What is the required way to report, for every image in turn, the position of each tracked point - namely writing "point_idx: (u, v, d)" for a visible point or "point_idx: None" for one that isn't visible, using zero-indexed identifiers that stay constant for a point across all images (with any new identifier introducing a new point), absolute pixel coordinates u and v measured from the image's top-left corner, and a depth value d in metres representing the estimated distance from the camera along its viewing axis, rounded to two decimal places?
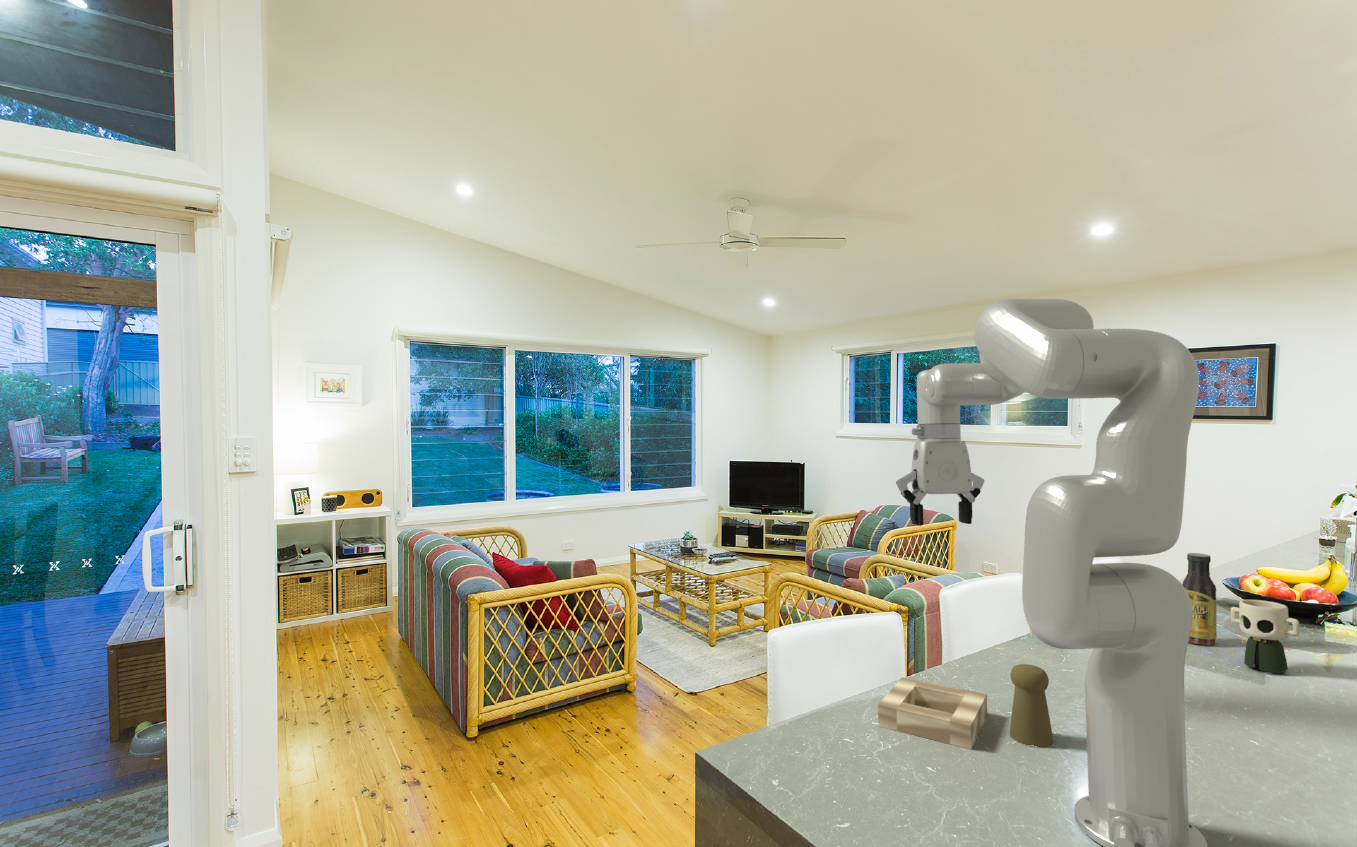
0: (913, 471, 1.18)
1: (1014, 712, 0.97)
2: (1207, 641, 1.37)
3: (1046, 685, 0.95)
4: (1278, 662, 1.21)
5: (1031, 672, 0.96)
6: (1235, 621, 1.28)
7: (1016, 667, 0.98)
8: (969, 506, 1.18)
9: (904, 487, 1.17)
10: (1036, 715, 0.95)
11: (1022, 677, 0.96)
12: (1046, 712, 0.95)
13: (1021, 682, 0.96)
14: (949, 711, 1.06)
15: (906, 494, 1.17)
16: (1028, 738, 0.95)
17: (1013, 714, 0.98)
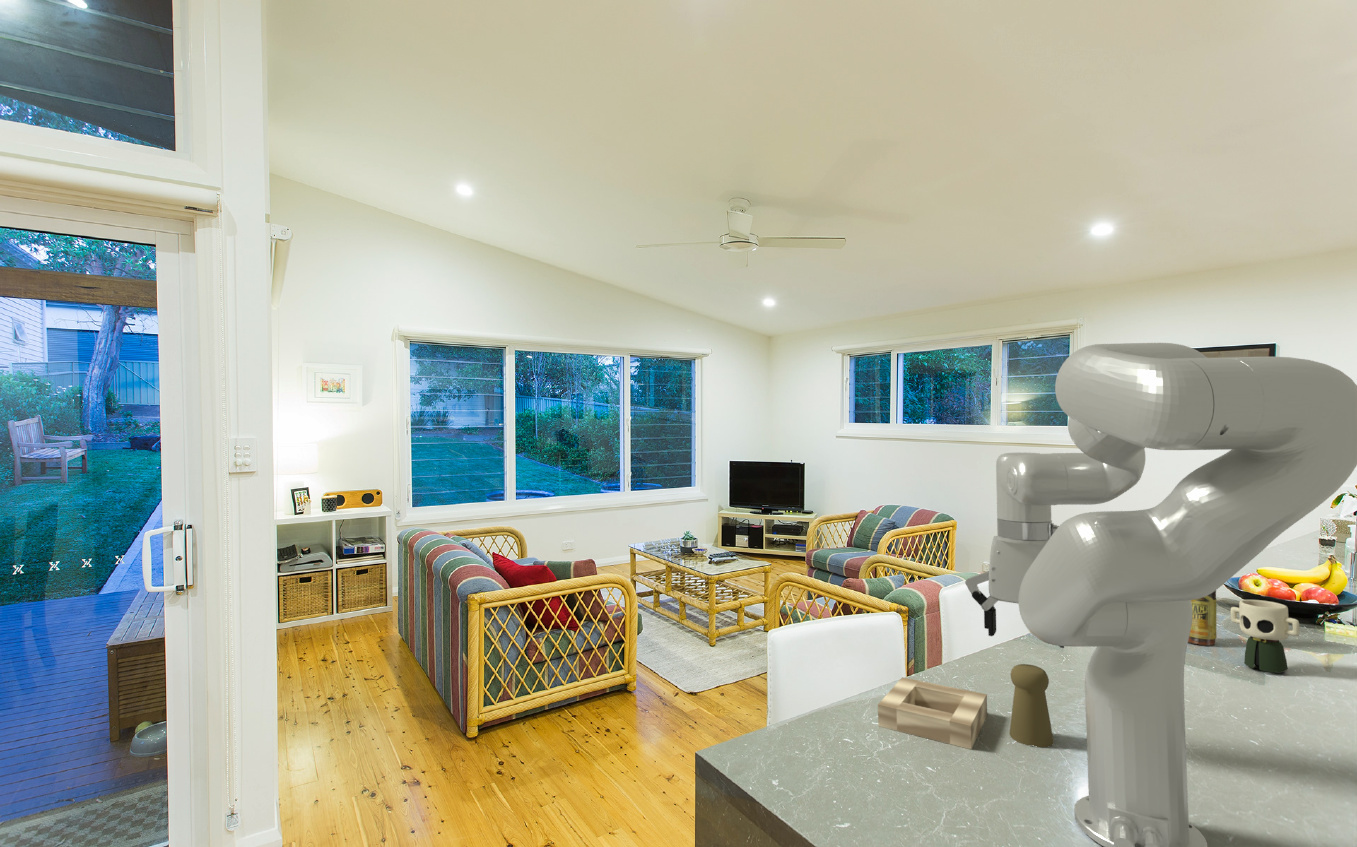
0: None
1: (1014, 712, 0.97)
2: (1207, 641, 1.37)
3: (1046, 685, 0.95)
4: (1278, 662, 1.21)
5: (1032, 672, 0.96)
6: (1235, 621, 1.28)
7: (1016, 667, 0.98)
8: None
9: None
10: (1036, 715, 0.95)
11: (1022, 677, 0.96)
12: (1046, 712, 0.95)
13: (1021, 682, 0.96)
14: (949, 711, 1.06)
15: None
16: (1028, 738, 0.95)
17: (1013, 714, 0.98)
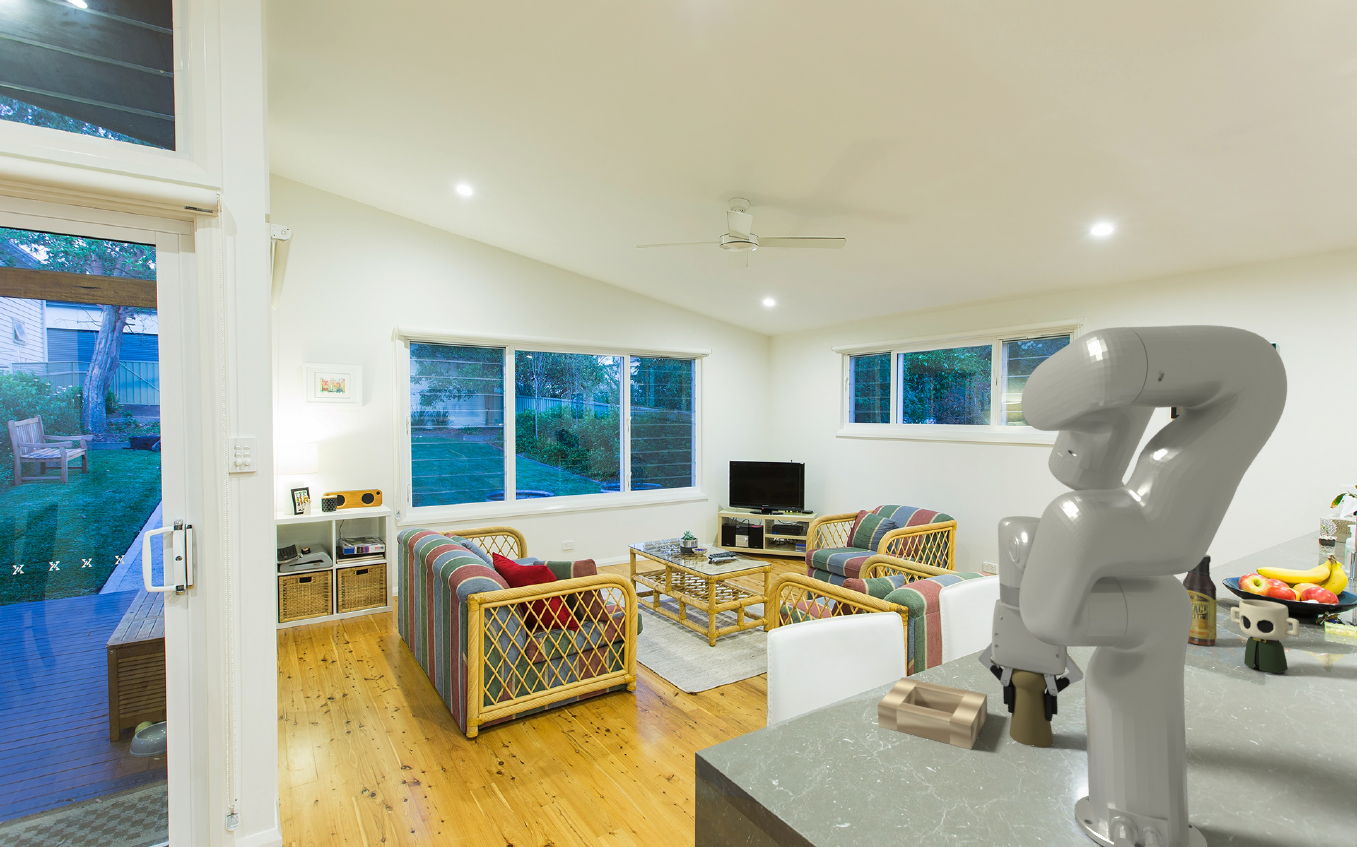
0: None
1: (1014, 711, 0.97)
2: (1207, 641, 1.37)
3: (1046, 685, 0.95)
4: (1278, 662, 1.21)
5: None
6: (1235, 621, 1.28)
7: None
8: None
9: None
10: (1036, 715, 0.95)
11: (1022, 676, 0.96)
12: None
13: (1021, 682, 0.96)
14: (949, 711, 1.06)
15: None
16: (1028, 738, 0.95)
17: (1013, 714, 0.98)
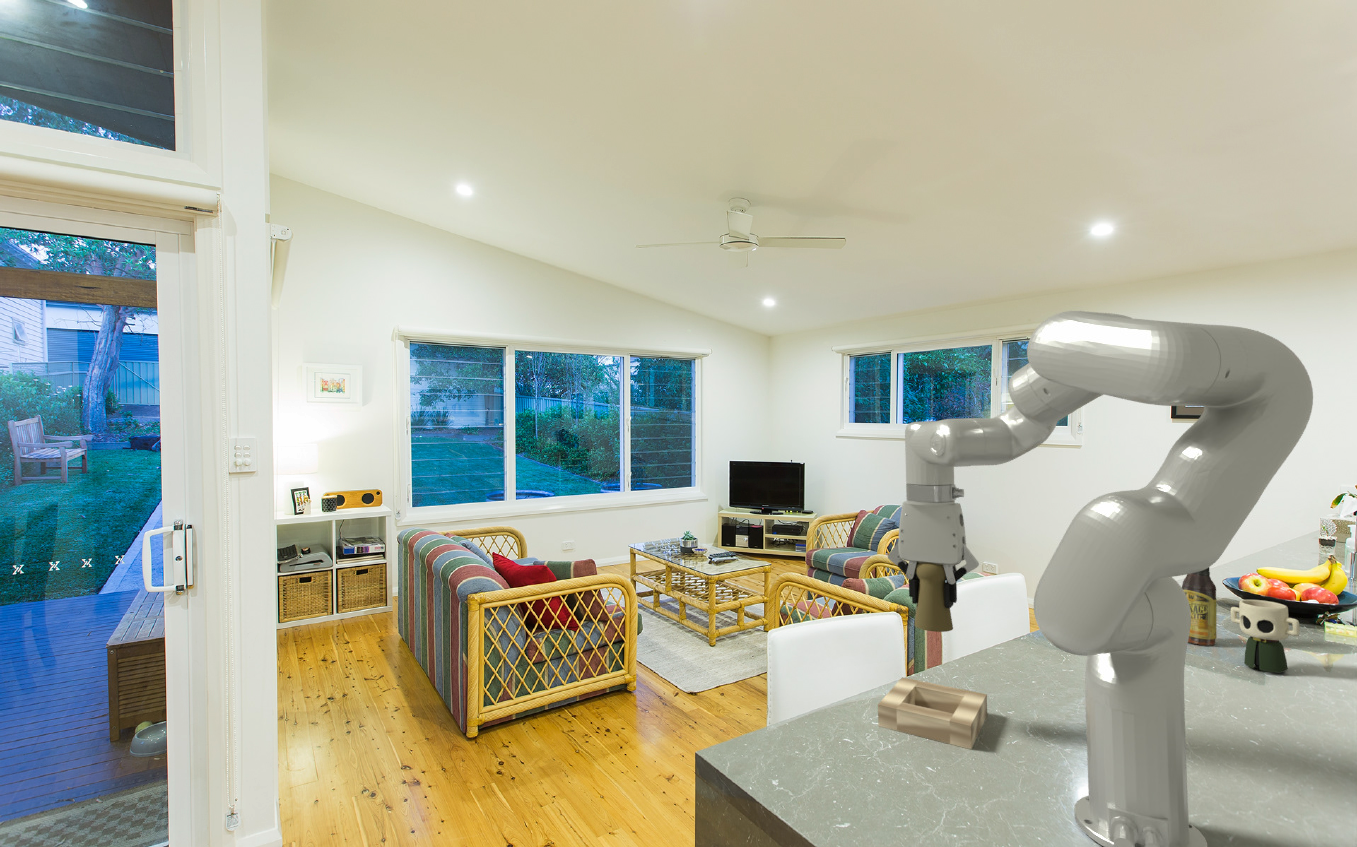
0: (962, 544, 1.01)
1: (917, 602, 1.04)
2: (1207, 641, 1.37)
3: None
4: (1278, 662, 1.21)
5: None
6: (1235, 621, 1.28)
7: None
8: None
9: None
10: (935, 603, 1.02)
11: (924, 568, 1.03)
12: None
13: (923, 573, 1.03)
14: (949, 711, 1.06)
15: None
16: (928, 624, 1.02)
17: (917, 604, 1.04)
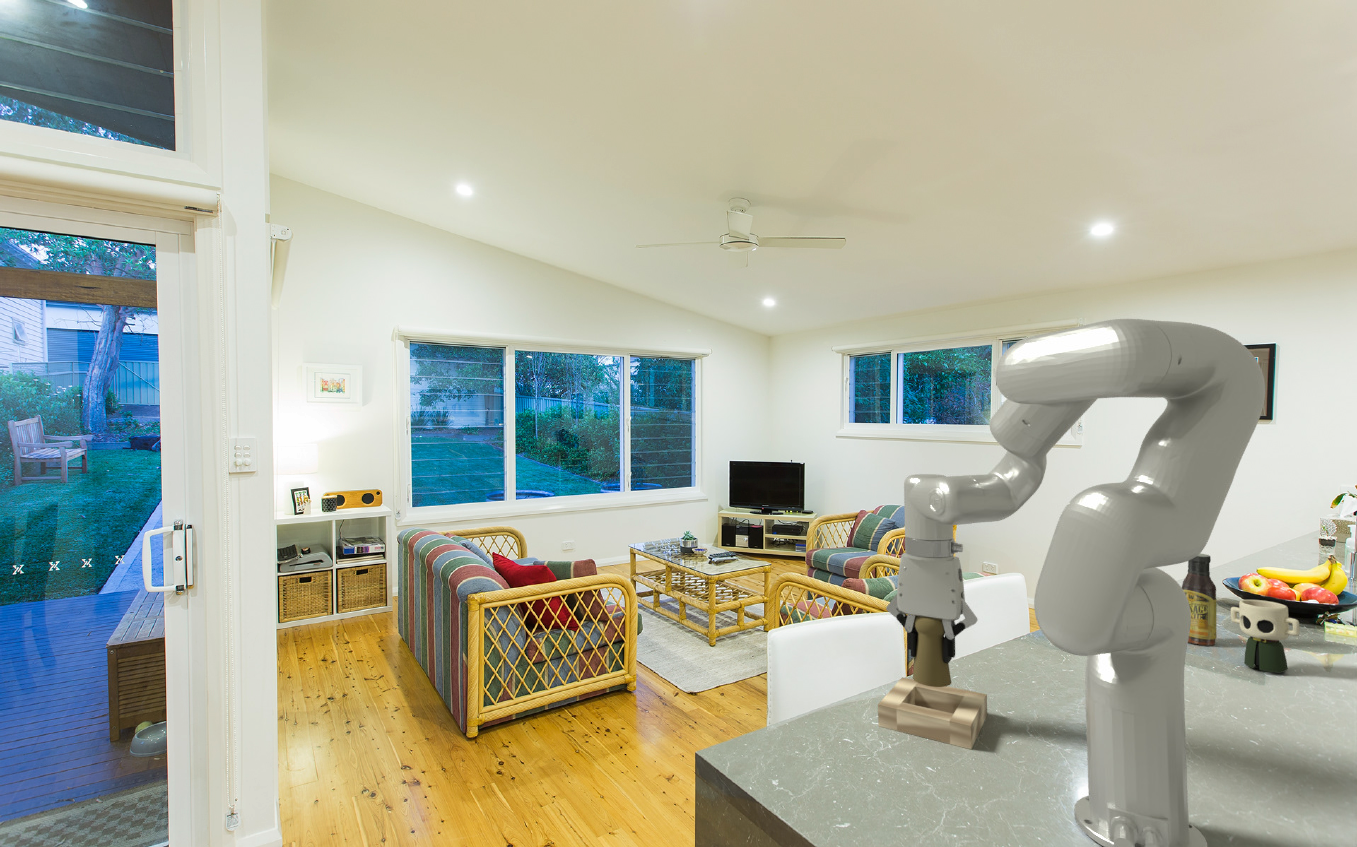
0: (961, 599, 1.01)
1: (916, 655, 1.04)
2: (1207, 641, 1.37)
3: (944, 630, 1.02)
4: (1278, 662, 1.21)
5: None
6: (1235, 621, 1.28)
7: None
8: None
9: None
10: (934, 657, 1.02)
11: (922, 622, 1.03)
12: None
13: (922, 627, 1.03)
14: (949, 711, 1.06)
15: None
16: (927, 679, 1.02)
17: (915, 658, 1.04)
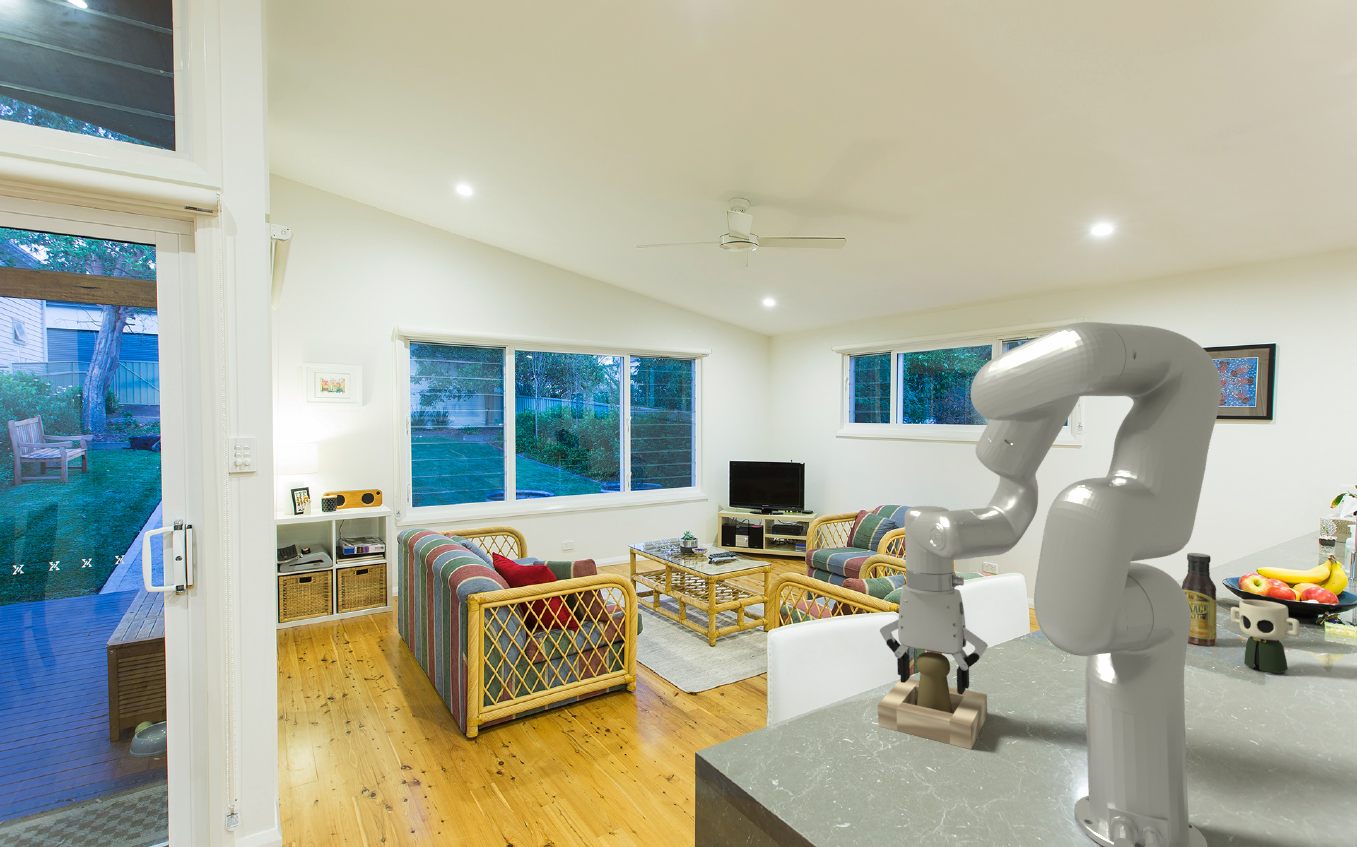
0: (964, 629, 1.01)
1: (919, 696, 1.04)
2: (1207, 641, 1.37)
3: (947, 671, 1.02)
4: (1278, 662, 1.21)
5: (934, 659, 1.02)
6: (1235, 621, 1.28)
7: (921, 655, 1.04)
8: None
9: None
10: (937, 699, 1.01)
11: (925, 663, 1.02)
12: (947, 696, 1.02)
13: (925, 668, 1.02)
14: None
15: None
16: None
17: (918, 699, 1.04)
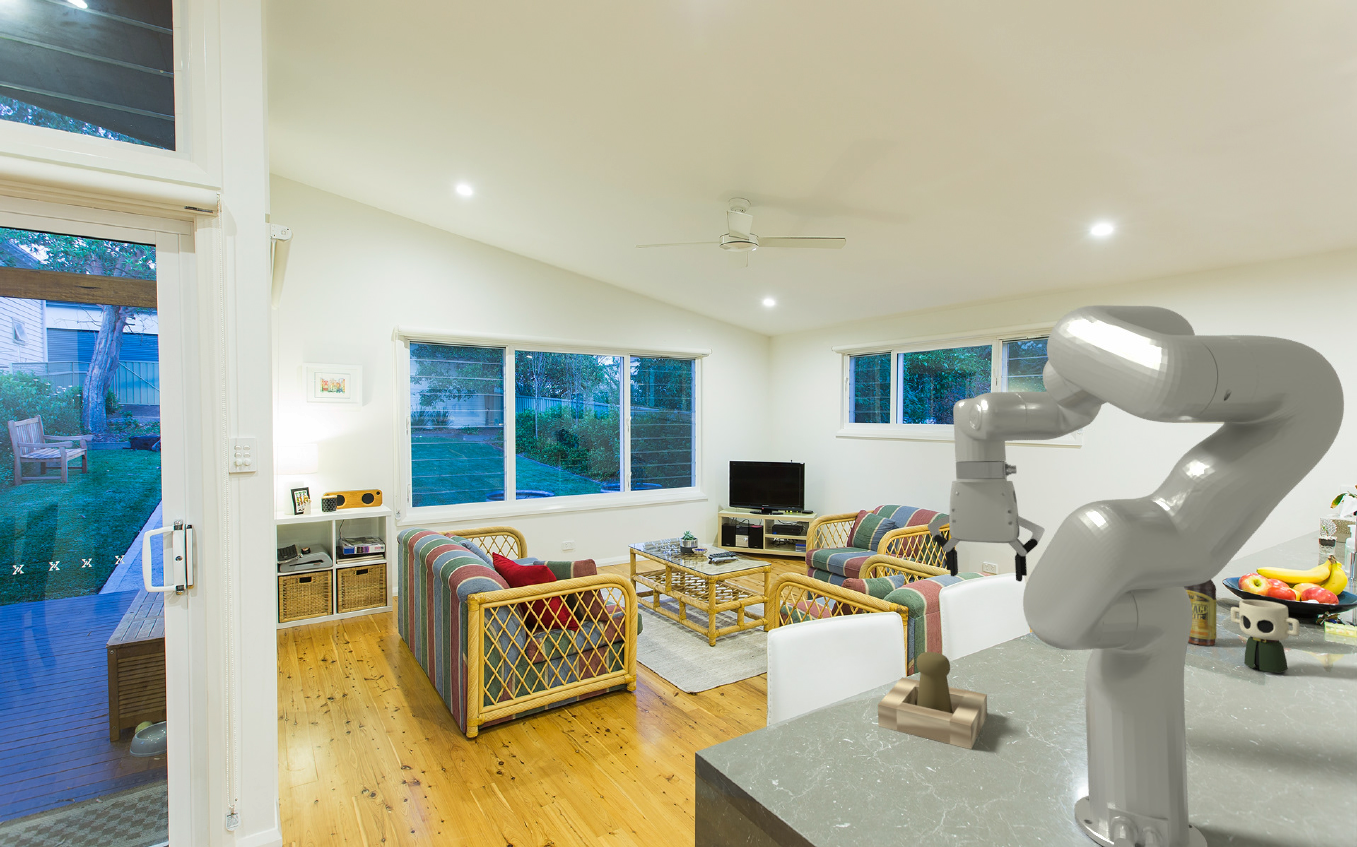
0: (1018, 516, 1.00)
1: (919, 696, 1.04)
2: (1207, 641, 1.37)
3: (947, 671, 1.02)
4: (1278, 662, 1.21)
5: (934, 658, 1.02)
6: (1235, 621, 1.28)
7: (921, 655, 1.04)
8: None
9: None
10: (937, 699, 1.01)
11: (925, 663, 1.02)
12: (947, 696, 1.02)
13: (925, 668, 1.02)
14: None
15: None
16: None
17: (918, 699, 1.04)
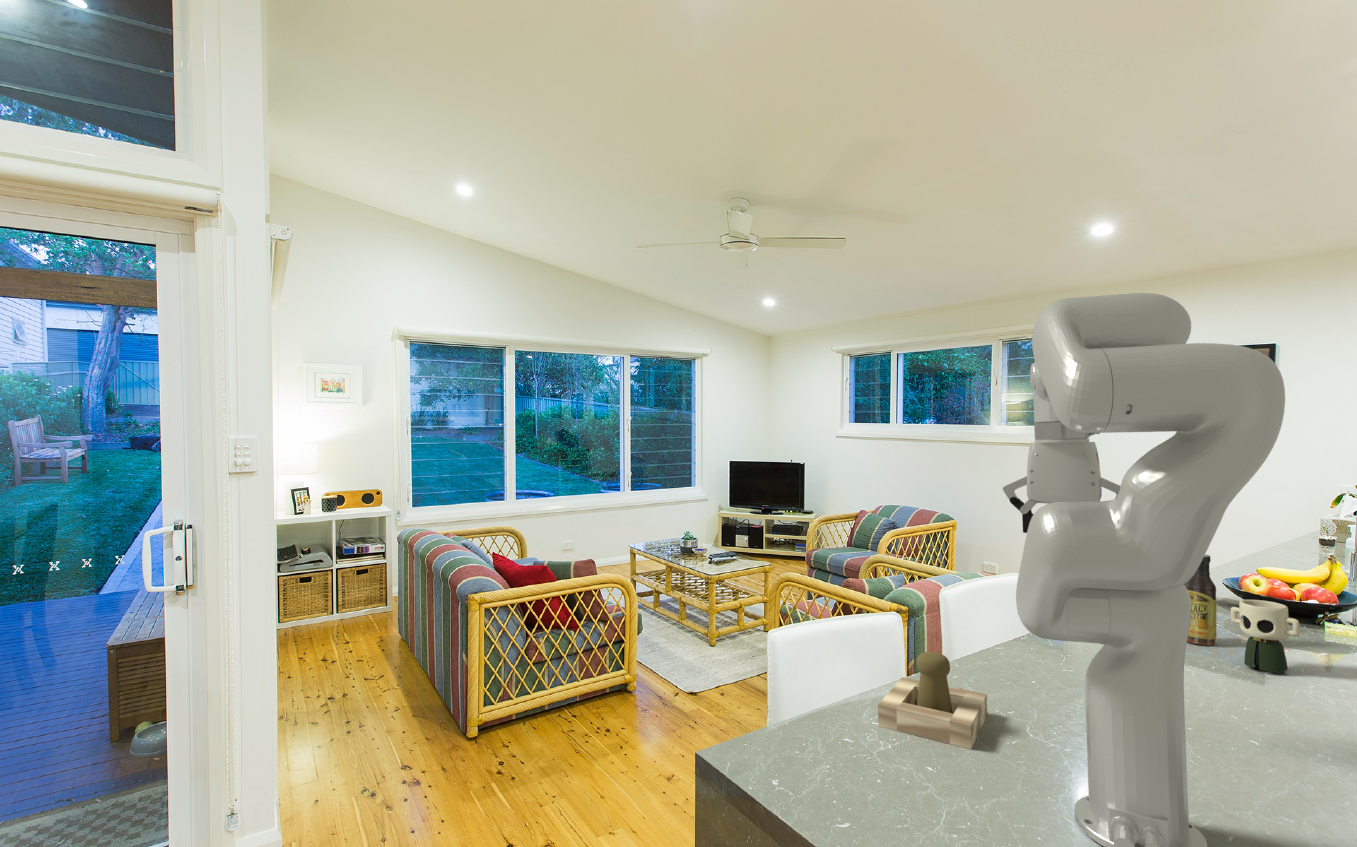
0: (1101, 478, 0.97)
1: (919, 696, 1.04)
2: (1207, 641, 1.37)
3: (947, 671, 1.02)
4: (1278, 662, 1.21)
5: (934, 659, 1.02)
6: (1235, 621, 1.28)
7: (921, 655, 1.04)
8: None
9: None
10: (937, 699, 1.01)
11: (925, 663, 1.02)
12: (947, 696, 1.02)
13: (925, 668, 1.02)
14: None
15: None
16: None
17: (918, 699, 1.04)
